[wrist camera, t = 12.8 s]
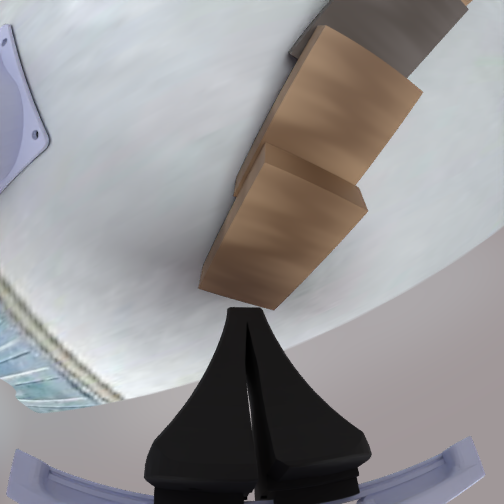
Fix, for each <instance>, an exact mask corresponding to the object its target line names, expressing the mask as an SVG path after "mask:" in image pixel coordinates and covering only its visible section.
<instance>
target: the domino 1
mask: <svg viewBox="0 0 504 504" xmlns="http://www.w3.org/2000/svg"><path fill="white" fill-rule="evenodd" d="M422 93H423V92H422V91H421V90H420V89H419V88H418V87H416V86H415V85H414V84H413V83H412V82H410V81H409V80H408V79H407V78H406V77H404V76H403V75H402V74H400V73H399V72H398V71H397V70H395V69H394V68H393V67H391V66H390V65H389V64H387V63H386V62H384V61H383V60H382V59H380V58H379V57H377V56H376V55H374V54H373V53H371V52H370V51H368V50H367V49H365V48H364V47H362V46H361V45H359V44H358V43H356V42H354V41H353V40H351V39H349V38H348V37H346V36H344V35H343V34H341V33H339V32H337V31H336V30H334V29H332V28H330V27H328V26H326V25H320V26H317V28H316V30H315V31H314V33H313V35H312V36H311V38H310V40H309V42H308V43H307V45H306V47H305V48H304V50H303V52H302V54H301V55H300V57H299V59H298V61H297V62H296V64H295V66H294V68H293V69H292V71H291V73H290V75H289V77H288V78H287V80H286V82H285V84H284V86H283V88H282V89H281V91H280V93H279V95H278V97H277V99H276V101H275V102H274V104H273V106H272V108H271V110H270V112H269V114H268V116H267V118H266V120H265V121H264V123H263V125H262V127H261V129H260V131H259V133H258V135H257V137H256V139H255V141H254V143H253V145H252V147H251V149H250V151H249V153H248V155H247V157H246V159H245V161H244V163H243V165H242V167H241V169H240V171H239V173H238V175H237V178H236V183H235V189H234V194H233V196H234V197H237V196H238V194H239V192H240V190H241V188H242V186H243V184H244V182H245V180H246V178H247V176H248V174H249V172H250V171H251V169H252V167H253V165H254V163H255V161H256V159H257V157H258V155H259V154H260V152H261V150H262V148H263V146H264V144H265V142H266V143H269V144H271V145H273V146H275V147H278V148H280V149H282V150H284V151H287V152H289V153H291V154H293V155H295V156H298V157H300V158H302V159H304V160H306V161H308V162H310V163H312V164H314V165H316V166H318V167H320V168H322V169H324V170H326V171H328V172H330V173H332V174H334V175H336V176H338V177H340V178H342V179H344V180H346V181H348V182H349V183H351V184H353V185H356V184H357V183H358V181H359V180H360V179H361V177H362V176H363V175H364V173H365V172H366V171H367V169H368V168H369V167H370V165H371V164H372V163H373V161H374V160H375V159H376V157H377V156H378V155H379V153H380V152H381V151H382V149H383V148H384V147H385V145H386V144H387V143H388V141H389V140H390V138H391V137H392V136H393V134H394V133H395V132H396V130H397V129H398V127H399V126H400V125H401V123H402V122H403V120H404V119H405V118H406V116H407V115H408V113H409V112H410V111H411V109H412V108H413V106H414V105H415V104H416V102H417V101H418V99H419V98H420V96H421V95H422Z"/></svg>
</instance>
